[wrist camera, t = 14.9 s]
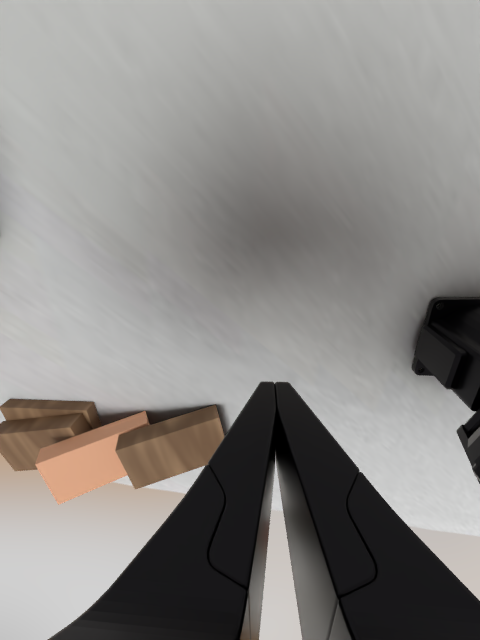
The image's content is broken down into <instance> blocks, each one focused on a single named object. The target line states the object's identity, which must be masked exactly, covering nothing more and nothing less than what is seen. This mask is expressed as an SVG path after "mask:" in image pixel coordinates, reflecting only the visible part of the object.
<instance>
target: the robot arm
mask: <svg viewBox="0 0 480 640" xmlns="http://www.w3.org/2000/svg"><path fill="white" fill-rule="evenodd" d="M439 303H441V305H440V306H439V307H436V306H437V304H439ZM419 368H421V369H420V370H418V369H419ZM412 370H413V371H414V372H415V374H417V375H429V376H435V377H436V378H437V379H438V380H439V382H440V383H441V384H442V385H443V386H444V387H445V388H446V389H452V390H453V391H454V392H455V394H456V395H457V396H458V397H459V398H460V399H461V400H462V401H463V402H464V403H465V404H466V405H467V406H468V407H469V408H470V409H471V410H472V411H477V412H476V413H475V414H474V415H473V416H472V417H471V418H470V419H469V420H468V422H467V423H466V424H465V425H461V426H460V427H459V428H458V430H457V434H458V436H459V438H460V441H461V443H462V445H463V447H464V450H465V452H466V454H467V456H468V459H469V461H470V463H471V465H472V469H473V472H474V474H475V476H476V477H477V479H478V481H479V483H480V297H459V298H435V299H433V300H432V301H431V303H430V305H429V309H428V312H427V316H426V320H425V323H424V326H423V327H422V329H421V333H420V336H419V340H418V344H417V347H416V351H415V359H414V363H413V366H412ZM275 452H276V464H277V472H278V478H279V485H280V492H281V499H282V505H283V512H284V518H285V525H286V532H287V539H288V545H289V552H290V559H291V565H292V572H293V579H294V586H295V592H296V599H297V605H298V612H299V619H300V626H301V633H302V639H303V640H480V601H479V600H478V599H477V598H476V597H475V596H474V595H473V594H472V593H471V591H469V590H468V588H467V587H466V586H465V585H464V584H463V583H462V582H460V580H459V579H458V578H457V577H456V576H455V575H454V574H453V573H452V572H451V571H450V570H449V569H448V568H447V566H445V564H444V563H443V562H442V561H441V560H440V559H439V558H438V557H437V556H436V555H435V554H434V553H433V552H432V551H431V550H430V549H429V548H428V547H427V546H426V545H425V544H424V543H423V542H422V541H421V539H419V537H418V536H417V535H416V534H415V533H414V532H413V531H412V530H411V529H410V528H409V527H408V526H407V524H406V523H405V522H404V521H403V520H402V519H401V518H400V517H399V516H398V515H397V514H396V513H395V511H394V510H393V509H392V508H391V507H390V506H389V505H388V503H387V502H386V501H385V500H384V499H383V498H382V496H381V495H380V494H379V493H378V492H377V491H376V489H375V488H374V487H373V486H372V485H371V483H370V482H369V481H368V480H367V478H366V477H365V476H364V475H363V473H362V472H359V469H358V467H357V466H356V465H355V464H354V462H353V461H352V460H351V459H350V457H349V456H348V455H347V454H346V452H345V451H344V450H343V449H342V447H341V446H340V445H339V444H338V443H337V441H336V440H335V439H334V438H333V436H332V435H331V434H330V433H329V431H328V430H327V429H326V428H325V426H324V425H323V424H322V423H321V421H320V420H319V419H318V418H317V417H316V415H315V414H314V413H313V412H312V410H311V409H310V408H309V407H308V405H307V404H306V403H305V402H304V400H303V399H302V398H301V397H300V395H299V394H298V393H297V392H296V390H295V389H294V388H293V387H292V386H291V384H290V383H288V382H276V383H275V384H274V382H260V384H259V385H258V387H257V388H256V390H255V391H254V393H253V394H252V396H251V397H250V399H249V400H248V402H247V403H246V405H245V406H244V408H243V410H242V411H241V413H240V414H239V416H238V417H237V419H236V420H235V422H234V423H233V425H232V426H231V428H230V429H229V431H228V432H227V434H226V435H225V437H224V439H223V440H222V442H221V443H220V445H219V446H218V448H217V449H216V451H215V452H214V454H213V455H212V457H211V458H210V460H209V461H208V465H206V466H205V467H204V469H203V470H202V472H201V473H200V475H199V476H198V478H197V479H196V481H195V482H194V484H193V485H192V487H191V488H190V489H189V491H188V492H187V494H186V495H185V497H184V498H183V499H182V500H181V502H180V503H179V504H178V505H177V507H176V508H175V509H174V511H173V512H172V513H171V514H170V516H169V517H168V518H167V519H166V521H165V522H164V523H163V524H162V526H161V527H160V528H159V529H158V530H157V531H156V533H155V534H154V535H153V536H152V538H151V539H150V540H149V541H148V542H147V544H146V545H145V546H144V547H143V548H142V549H141V551H140V552H139V553H138V554H137V556H136V557H135V558H134V559H133V561H132V562H131V563H130V564H129V565H128V566H127V568H126V569H125V570H124V571H123V573H122V574H121V575H120V576H119V577H118V578H117V580H116V581H115V582H114V583H113V584H112V585H111V587H110V588H109V589H108V590H107V591H106V592H105V593H104V594H103V595H102V596H101V597H100V598H99V599H98V600H97V601H96V602H95V603H94V604H93V605H92V606H91V607H90V608H89V609H88V610H87V611H86V612H84V613H83V614H82V615H81V616H80V617H78V618H77V619H76V620H75V621H73V622H72V623H71V624H69V625H68V626H67V627H65V628H64V629H62V630H61V631H59V632H58V633H57V634H55V635H54V636H52V637H51V638H50V639H48V640H259V630H260V621H261V610H262V600H263V589H264V578H265V568H266V556H267V546H268V535H269V525H270V514H271V503H272V492H273V482H274V471H275Z"/></svg>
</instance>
